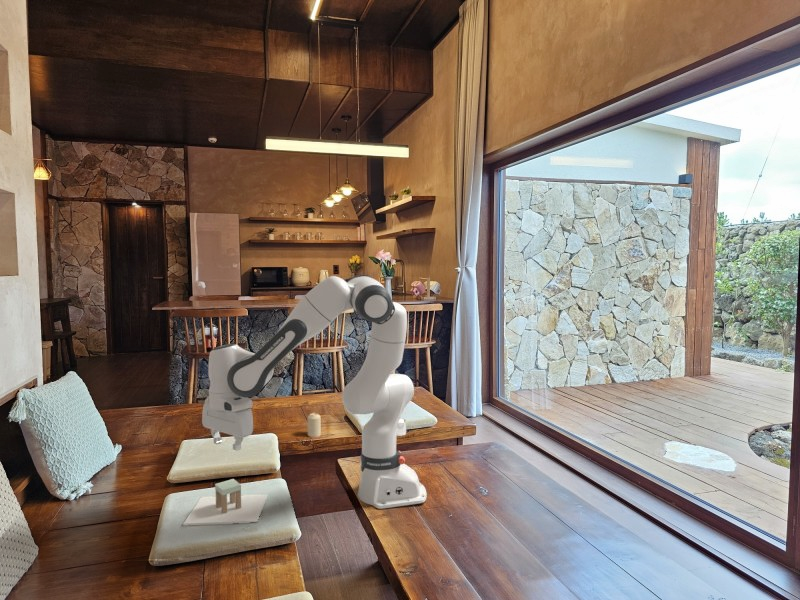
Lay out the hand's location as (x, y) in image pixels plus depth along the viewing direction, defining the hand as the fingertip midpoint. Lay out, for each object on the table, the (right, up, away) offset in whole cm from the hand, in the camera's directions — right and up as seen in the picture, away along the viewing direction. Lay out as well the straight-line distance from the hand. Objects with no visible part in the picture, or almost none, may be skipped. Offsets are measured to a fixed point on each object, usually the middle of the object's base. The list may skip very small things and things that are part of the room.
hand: (227, 446), depth 143 cm
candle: (+14, -15, +63) cm, 67 cm away
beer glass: (+50, -25, +71) cm, 90 cm away
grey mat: (0, -19, +1) cm, 19 cm away
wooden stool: (0, -18, +1) cm, 18 cm away
